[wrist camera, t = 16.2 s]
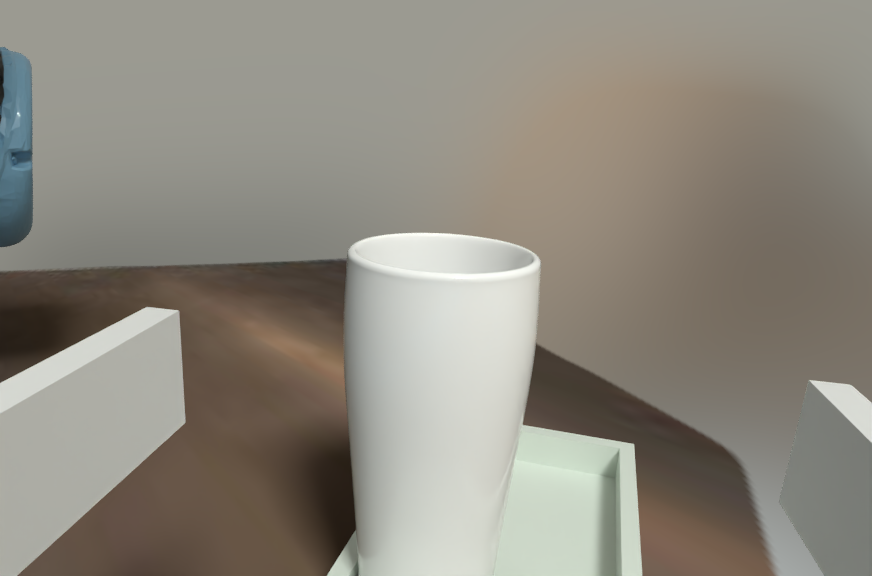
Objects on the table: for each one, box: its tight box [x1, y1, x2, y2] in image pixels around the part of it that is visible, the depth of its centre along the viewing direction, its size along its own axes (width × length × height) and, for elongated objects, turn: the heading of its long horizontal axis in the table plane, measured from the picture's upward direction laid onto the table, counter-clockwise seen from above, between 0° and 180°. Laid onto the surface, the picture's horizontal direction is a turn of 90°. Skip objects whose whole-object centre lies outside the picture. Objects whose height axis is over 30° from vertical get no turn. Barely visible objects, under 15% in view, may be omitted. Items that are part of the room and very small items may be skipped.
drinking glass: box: [343, 233, 541, 576], centre depth 24 cm, size 7×7×15 cm
